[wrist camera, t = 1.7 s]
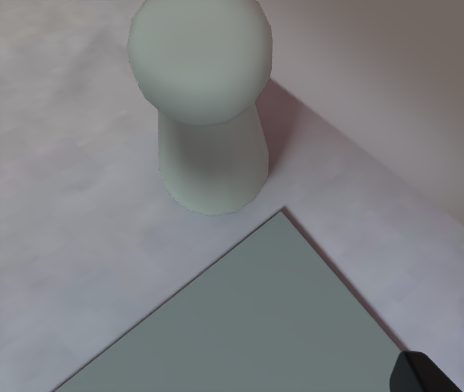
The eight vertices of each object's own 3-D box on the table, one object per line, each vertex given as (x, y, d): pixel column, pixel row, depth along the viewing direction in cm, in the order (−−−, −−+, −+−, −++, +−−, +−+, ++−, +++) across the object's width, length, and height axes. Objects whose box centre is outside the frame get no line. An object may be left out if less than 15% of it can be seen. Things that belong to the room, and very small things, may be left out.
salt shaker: (153, 150, 24) (66, -28, 11) (242, 117, 24) (253, -86, 12) (187, 240, 22) (129, 151, 10) (281, 203, 23) (340, 74, 10)
